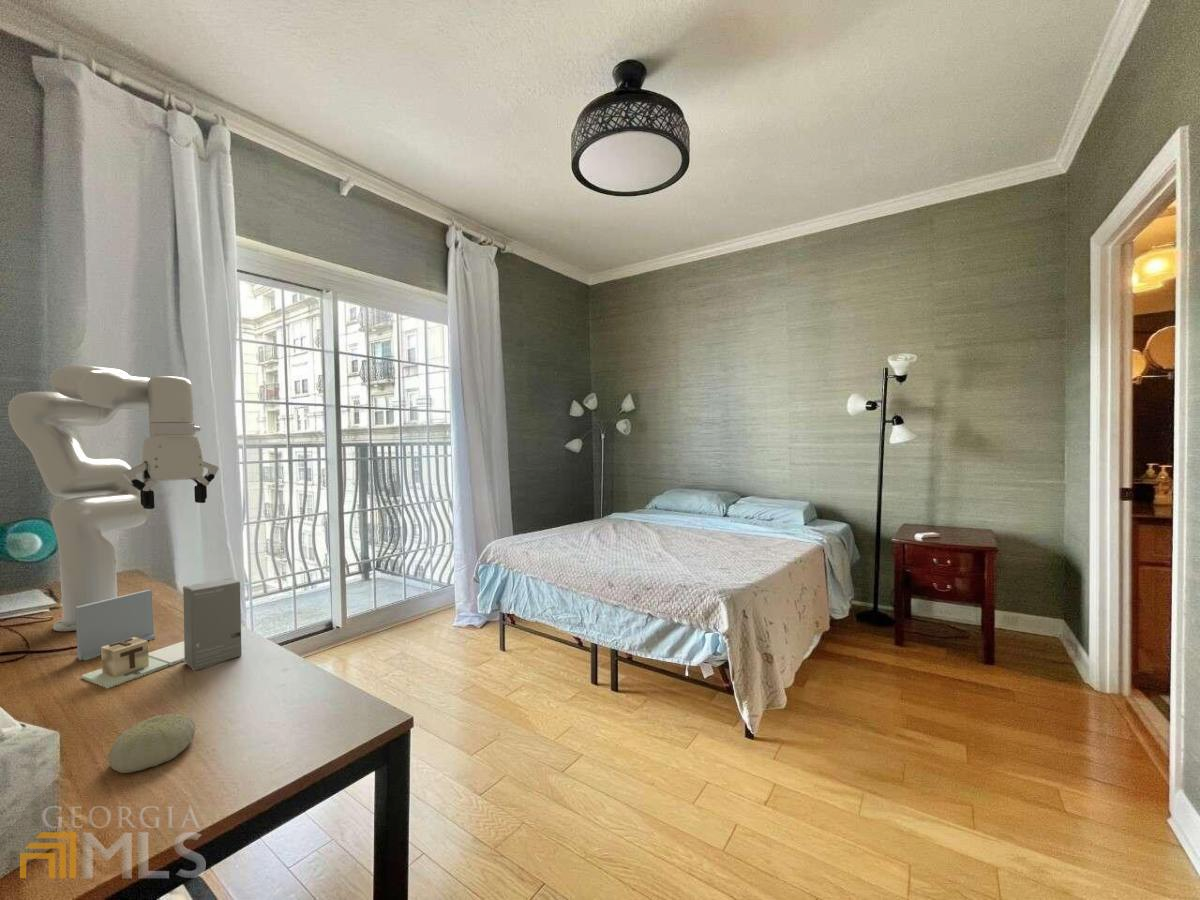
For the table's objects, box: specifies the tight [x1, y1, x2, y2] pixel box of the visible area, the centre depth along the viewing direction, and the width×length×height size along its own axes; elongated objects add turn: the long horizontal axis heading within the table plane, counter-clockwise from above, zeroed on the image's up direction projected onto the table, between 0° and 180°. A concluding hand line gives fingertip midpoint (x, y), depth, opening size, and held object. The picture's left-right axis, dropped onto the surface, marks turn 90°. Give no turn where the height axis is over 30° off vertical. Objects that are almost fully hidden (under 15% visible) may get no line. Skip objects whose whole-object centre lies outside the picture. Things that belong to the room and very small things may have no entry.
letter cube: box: [100, 637, 149, 678], centre depth 93 cm, size 5×5×5 cm
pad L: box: [148, 640, 185, 666], centre depth 101 cm, size 10×9×1 cm
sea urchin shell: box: [107, 713, 196, 774], centre depth 68 cm, size 9×8×8 cm
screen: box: [75, 589, 156, 661], centre depth 104 cm, size 4×12×11 cm, turn 156°
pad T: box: [81, 657, 169, 690], centre depth 93 cm, size 10×9×1 cm
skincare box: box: [182, 577, 243, 671], centre depth 98 cm, size 8×7×16 cm
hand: (175, 505), depth 109 cm, fingers open, 9 cm apart
